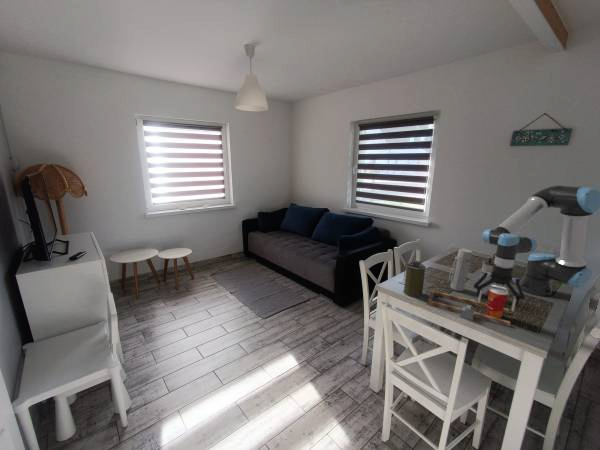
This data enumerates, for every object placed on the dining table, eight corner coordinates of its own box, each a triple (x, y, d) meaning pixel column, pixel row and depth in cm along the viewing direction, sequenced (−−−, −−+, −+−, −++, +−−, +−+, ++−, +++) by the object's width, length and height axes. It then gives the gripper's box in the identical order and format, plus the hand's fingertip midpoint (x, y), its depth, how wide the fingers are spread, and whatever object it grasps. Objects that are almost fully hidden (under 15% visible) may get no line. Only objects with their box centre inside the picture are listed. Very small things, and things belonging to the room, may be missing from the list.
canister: (423, 291, 158) (427, 260, 153) (421, 299, 149) (425, 266, 144) (404, 287, 163) (407, 256, 158) (401, 294, 154) (404, 262, 150)
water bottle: (461, 287, 164) (470, 249, 157) (465, 293, 157) (475, 253, 150) (445, 284, 166) (453, 247, 160) (448, 290, 159) (457, 251, 152)
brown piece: (507, 312, 136) (508, 308, 136) (509, 327, 124) (510, 322, 124) (432, 293, 156) (432, 289, 155) (427, 304, 144) (427, 299, 143)
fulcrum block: (473, 316, 132) (474, 306, 131) (472, 320, 129) (474, 310, 128) (461, 313, 135) (463, 303, 134) (460, 317, 132) (462, 307, 131)
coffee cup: (484, 309, 139) (489, 282, 136) (504, 314, 134) (509, 287, 131) (482, 316, 133) (487, 288, 129) (503, 322, 128) (509, 293, 124)
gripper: (536, 269, 124) (526, 310, 128) (473, 258, 137) (466, 295, 142) (538, 274, 118) (528, 317, 122) (472, 262, 131) (465, 301, 136)
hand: (495, 305), depth 132 cm, fingers open, 13 cm apart
